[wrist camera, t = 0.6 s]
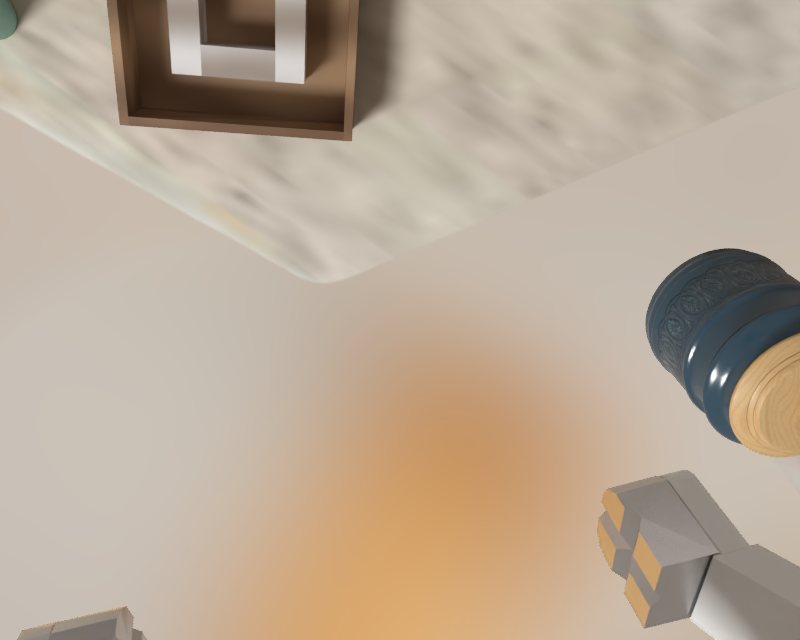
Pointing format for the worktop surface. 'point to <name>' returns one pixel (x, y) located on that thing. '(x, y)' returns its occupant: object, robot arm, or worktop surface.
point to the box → (236, 65)
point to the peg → (7, 19)
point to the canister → (734, 345)
